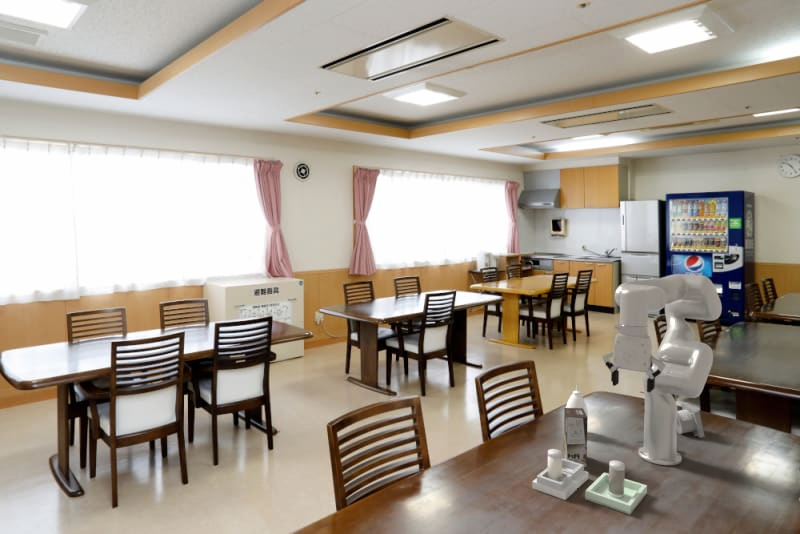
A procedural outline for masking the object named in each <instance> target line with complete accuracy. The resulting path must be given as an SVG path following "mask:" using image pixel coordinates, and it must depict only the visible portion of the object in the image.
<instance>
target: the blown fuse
mask: <svg viewBox="0 0 800 534" xmlns="http://www.w3.org/2000/svg"><path fill="white" fill-rule="evenodd" d="M608 465H609V466H608V468H609V469H608V474H609V495H610V496H612V497H614V498H623V497H624V479H626V477H625V474H626V472H625V471H626V464H625V463H624V462H623V461H620V460H616V459H615V460H613V459H612V460H609V463H608Z"/></svg>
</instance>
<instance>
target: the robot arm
mask: <svg viewBox="0 0 800 534" xmlns="http://www.w3.org/2000/svg"><path fill="white" fill-rule="evenodd" d="M614 301H615V303H616V305H618V306H619V323H618V324H615V325H614V330H618V332H617V333H616V334H615V339H614V343H613V344H614V345H613V351H611V352H609V353H606V354H604V355H602V360H603V361H604V364H605V366H606V367H607V368H608V369H609V371H610V373H611V375H610V376H611V377H610V379H611V383H612V387H613V386H614V387H615V386H616V385H619V382H620V379H619V378H620V371H619V370H618V369H622V370H627V371H635V372H641V379H642V383H643V384H642V385H643V392H644V393H645V394H644V404H645V405H644V411H645V412H643V413H644V418H643V421H644V422H643V423H644V424H643V446H642V447H639V448H638V456H639V457H640V458H642V459H643V460H645V461H646V462H648V463H652V464H656V465H660V466H675V465H679V464H681V463H682V459H683V458H682V455H681V454H680V453H679V452H678V451H677V446H678V445H677V441H678V440H677V439H678V438H677V436H678V435H677V434H678V432H677V411H678V405H677V402H676V400H675V398H674V396H679V397H684V398H689V399H696V398H698V397H700V395H701V394H702V393H703V390H704V387H705V385H706V383H707V379H708V377H709V374H710V371H711V369H712V366H713V362H714V360H713V359H714V353H713V352H714V351H713V350H712V347H711V346H709V345H708V343H705V342H701V341H695V330H694V329H693V328H692V326H691V325H690V324H689V322H687V321H686V320H685V319H691V320H701V321H716V320H718V318H719V317H721V314H722V309H723V307H722V302H721V299H720V297H719V294H718V291H717V289H716V286H715V285H714V283H713V282H712V280H711V279H710V278H709V277H708V276H706V275H703V274H702V275H701V274H685V273H683V274H682V273H675V274H673V273H672V274H670V275H666V276H663V277H659V278H649V279H642V280H640V279H639V280H632V281H627V282H623V283H621V284H620V285H619V286H617V287H616V289H615V292H614ZM662 309H664V313H665V314H664V315H665V321H666V326H667V327H666V332H665V334H664V336H663V338H662V340H661V342H660V345H659V347H658V350H657V352H656V357H657V358H656V357H654V355H653V353H654V352H653V347H652V339H651V336H650V335H649V329H648V328H649V312H658V311H659V312H660V311H661V310H662ZM611 358H612V361H610V360H611ZM673 395H674V396H673Z"/></svg>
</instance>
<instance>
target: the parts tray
mask: <svg viewBox="0 0 800 534" xmlns="http://www.w3.org/2000/svg"><path fill="white" fill-rule="evenodd" d="M647 494H648V485H647V484H644V483H640V482H637V481H634V480H630V479H627V478H625V479H624V497H623V498H614V497H612V496H610V495H609V472H603V473H602V474H601V475H600V476H599V477H597V479H596V480H594V482H593V483H591V484H590V485H589V486H588V488H586V489H585V490H584V500H586V501H589V502H592V503H595V504H597V505H601V506H604V507H606V508H609V509H612V510H614V511H617V512H621V513H623V514H626V515H629V516H630V515H632V513H633V512H634V510H636V508H637V507H638V506H639V505H640V503H641V502H642V501H643V499H644V498H645V497H646V495H647Z"/></svg>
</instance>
